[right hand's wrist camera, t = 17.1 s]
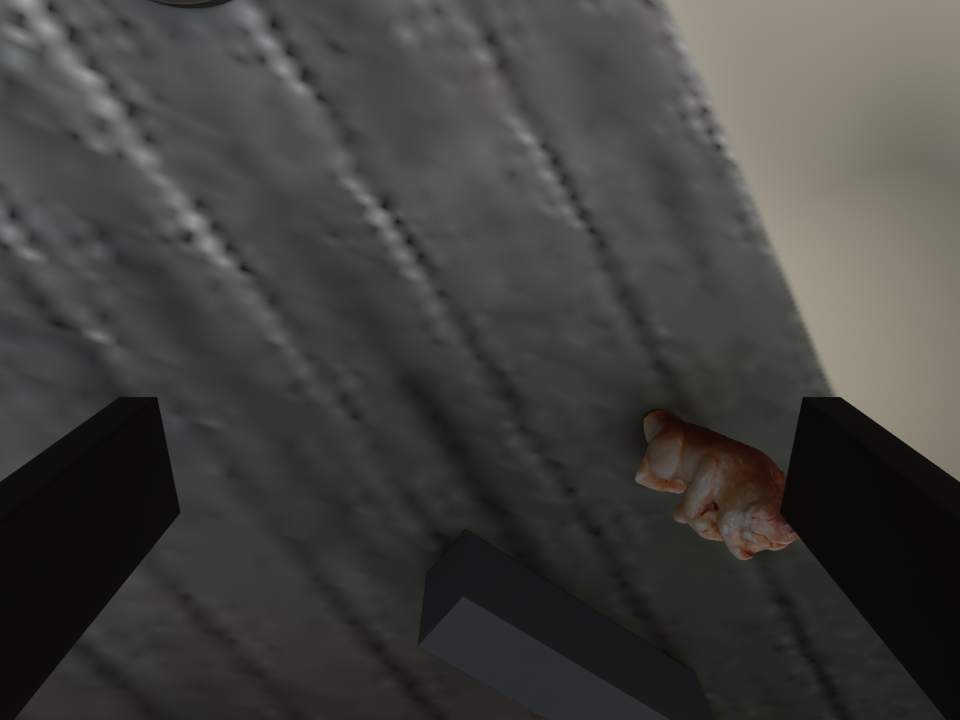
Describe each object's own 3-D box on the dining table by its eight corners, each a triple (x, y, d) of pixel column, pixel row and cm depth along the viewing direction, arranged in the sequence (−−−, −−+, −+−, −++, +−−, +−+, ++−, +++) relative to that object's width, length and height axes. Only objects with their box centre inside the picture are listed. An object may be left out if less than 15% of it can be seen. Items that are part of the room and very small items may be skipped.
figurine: (616, 458, 47) (674, 594, 33) (656, 373, 45) (737, 480, 31) (688, 480, 48) (775, 621, 34) (731, 396, 45) (844, 512, 31)
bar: (426, 573, 51) (417, 646, 44) (465, 528, 50) (463, 596, 42) (653, 709, 57) (679, 794, 49) (695, 672, 55) (729, 755, 48)
